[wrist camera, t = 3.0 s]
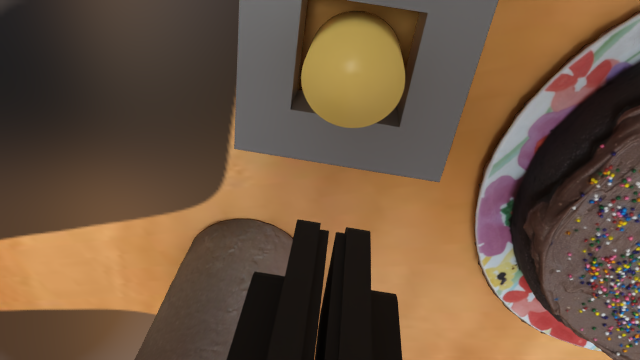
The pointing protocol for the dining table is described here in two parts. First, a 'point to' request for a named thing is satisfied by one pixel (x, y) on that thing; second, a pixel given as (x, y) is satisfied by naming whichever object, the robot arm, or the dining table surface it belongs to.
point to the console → (377, 139)
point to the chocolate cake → (571, 201)
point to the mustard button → (353, 70)
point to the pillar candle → (214, 290)
